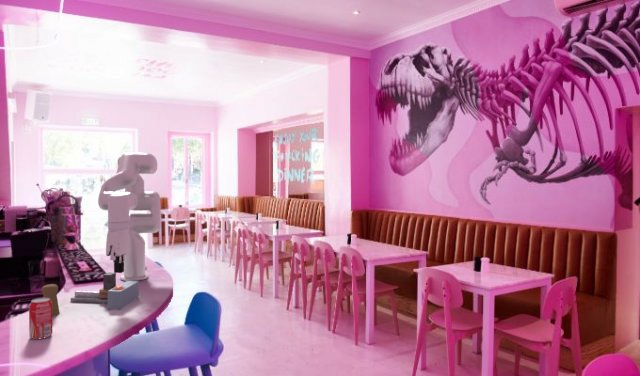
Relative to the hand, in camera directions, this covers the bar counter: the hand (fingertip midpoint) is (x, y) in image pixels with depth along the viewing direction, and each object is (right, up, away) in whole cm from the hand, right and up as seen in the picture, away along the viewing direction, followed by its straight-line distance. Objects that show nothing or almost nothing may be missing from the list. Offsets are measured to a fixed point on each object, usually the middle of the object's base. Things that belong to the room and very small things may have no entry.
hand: (119, 272), depth 172 cm
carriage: (-7, -11, +6) cm, 14 cm away
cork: (-20, -14, -11) cm, 27 cm away
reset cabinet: (0, -13, +4) cm, 14 cm away
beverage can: (-11, -15, -32) cm, 36 cm away
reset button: (0, -12, 0) cm, 12 cm away
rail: (-12, -13, +7) cm, 19 cm away
